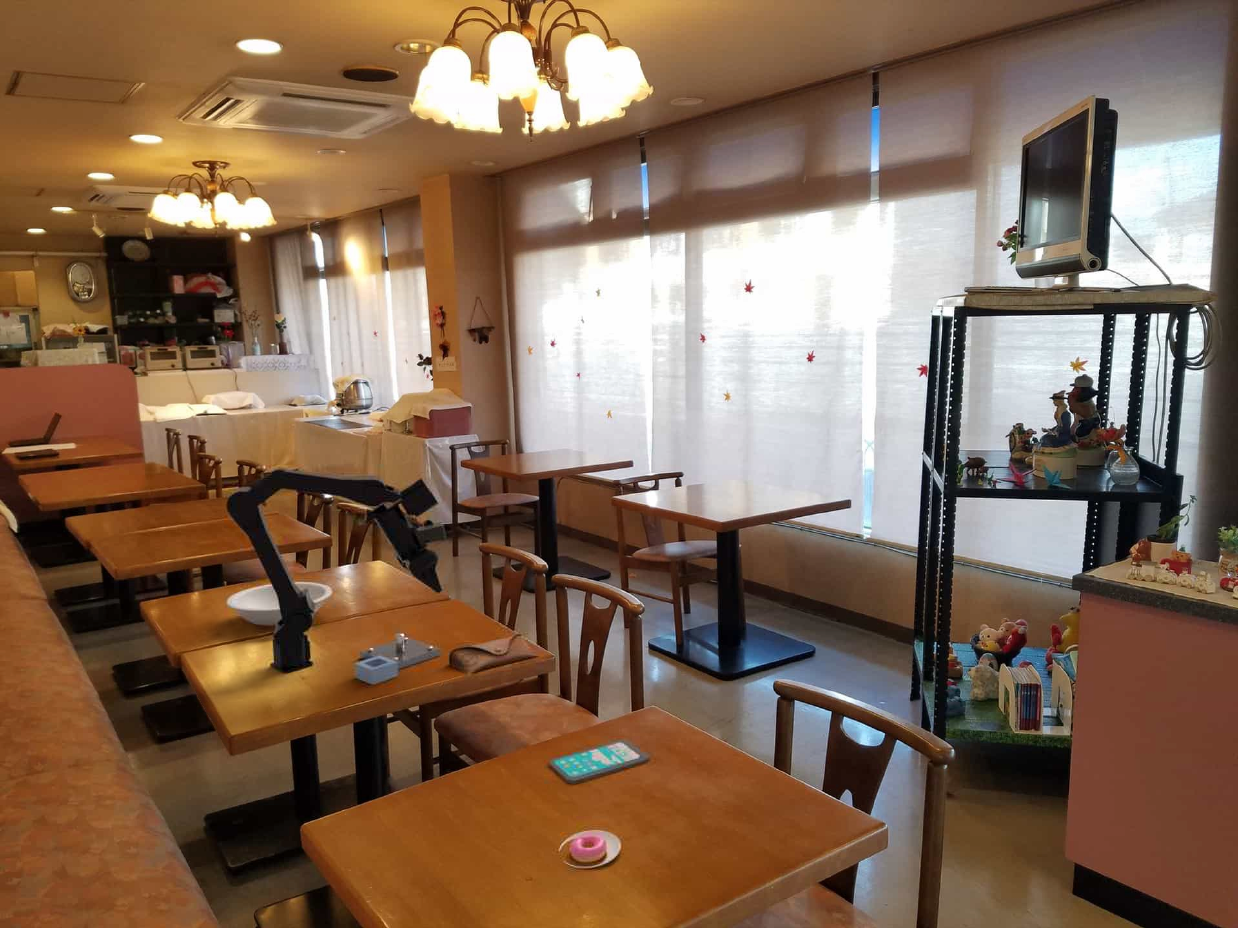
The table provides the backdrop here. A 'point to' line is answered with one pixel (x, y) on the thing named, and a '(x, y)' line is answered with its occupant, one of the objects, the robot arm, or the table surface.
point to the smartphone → (598, 761)
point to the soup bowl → (271, 602)
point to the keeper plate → (402, 651)
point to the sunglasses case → (490, 654)
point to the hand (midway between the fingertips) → (435, 587)
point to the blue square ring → (376, 669)
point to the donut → (593, 847)
